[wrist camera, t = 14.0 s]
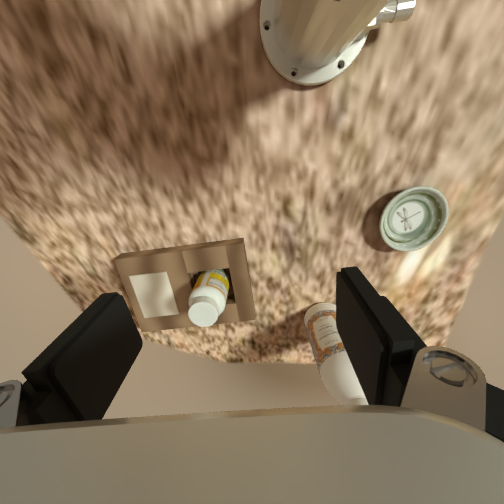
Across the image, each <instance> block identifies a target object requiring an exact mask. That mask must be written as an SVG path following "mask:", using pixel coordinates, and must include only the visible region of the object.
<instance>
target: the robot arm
mask: <svg viewBox="0 0 504 504" xmlns="http://www.w3.org/2000/svg"><path fill="white" fill-rule="evenodd" d="M414 7H415V0H261V6H260V19H259V22H260V35H261V40H262V44H263V48H264V50H265V53H266V55H267V58H268V59H269V61H270V63H271V64H272V66H273V67H274V68H275V70H276V71H277V72H278V73H279V74H280V75H281V76H283V77H284V78H285V79H287V80H288V81H290V82H293V83H295V84H298V85H303V86H317V85H320V84H324V83H327V82H329V81H331V80H333V79H335V78H336V77H337V76H339V75H340V74H341V73H343V72H344V71H345V70H346V69H347V68H348V67H349V66H350V65H351V64H352V63H353V61H354V60H355V59H356V57H357V56H358V55H359V53H360V51H361V49H362V48H363V46H364V44H365V41H366V39H367V36H368V34H369V31H370V30H373V29H377V28H378V27H379V26H380V24H381V23H387V22H389V23H394V22H400V21H406V20H408V19H409V18H410V17H411V15H412V13H413V10H414ZM265 27H268V28H269V30H265ZM337 65H340V69H339V68H338V67H337ZM292 72H294V73H295V76H292ZM336 327H337V331H338V333H339V336H340V338H341V340H342V343H343V345H344V348H345V350H346V352H347V355H348V357H349V359H350V362H351V364H352V366H353V369H354V371H355V374H356V376H357V378H358V381H359V383H360V385H361V388H362V390H363V392H364V395H365V397H366V400H367V402H368V404H369V405H340V406H339V405H337V406H312V407H291V408H274V409H258V410H241V411H224V412H209V413H192V414H177V415H161V416H147V417H131V418H118V419H103V420H102V418H103V416H104V414H105V412H106V411H107V409H108V407H109V406H110V404H111V402H112V400H113V398H114V397H115V395H116V393H117V391H118V389H119V388H120V386H121V384H122V382H123V381H124V379H125V377H126V375H127V373H128V372H129V370H130V368H131V366H132V364H133V363H134V361H135V359H136V357H137V356H138V354H139V352H140V350H141V348H142V339H141V336H140V334H139V332H138V329H137V327H136V325H135V323H134V320H133V318H132V316H131V313H130V311H129V309H128V307H127V304H126V302H125V300H124V298H123V296H122V295H120V294H119V293H117V292H113V293H104V294H101V295H100V296H99V297H98V298H97V299H96V300H95V301H94V302H93V303H92V304H91V305H90V306H89V307H88V308H87V309H86V310H85V311H84V312H83V313H82V314H81V315H80V316H79V317H78V318H77V319H76V320H75V321H74V322H73V323H71V325H69V326H68V327H67V328H66V329H65V330H64V331H63V332H62V333H61V334H60V335H59V336H58V337H57V338H56V339H55V340H54V341H53V342H52V343H51V344H50V345H49V346H48V347H47V348H46V349H45V350H44V351H43V352H42V353H41V354H40V355H39V356H38V357H37V358H36V359H35V360H34V361H33V362H32V363H31V364H30V365H29V366H28V367H27V368H26V369H24V370H23V371H22V374H23V375H24V377H25V378H26V379H27V381H26V382H25V383H24V384H23V385H22V383H21V382H20V381H18V380H10V381H6V382H3V383H0V504H504V390H501V389H499V388H497V387H495V386H493V385H490V384H488V383H486V378H485V374H484V373H483V372H482V370H481V369H480V367H479V366H478V365H477V364H476V363H475V362H473V361H472V360H471V359H470V358H468V357H466V356H465V355H463V354H461V353H459V352H457V351H454V350H452V349H449V348H445V347H439V346H429V347H427V346H426V344H425V343H424V342H423V341H422V340H421V338H420V337H419V336H418V335H417V334H416V332H415V331H414V330H413V329H412V328H411V326H410V325H409V324H408V323H407V322H406V320H405V319H404V318H403V317H402V315H401V314H400V313H399V312H398V311H397V309H396V308H395V307H394V306H393V305H392V303H391V302H390V301H389V300H388V299H387V298H386V297H385V296H380V295H379V294H378V293H377V291H376V290H375V289H374V288H373V286H372V285H371V284H370V283H369V281H368V280H367V279H366V278H365V276H364V275H363V274H362V272H361V271H360V270H359V269H358V268H357V267H346V268H342V269H341V272H337V276H336Z"/></svg>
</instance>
